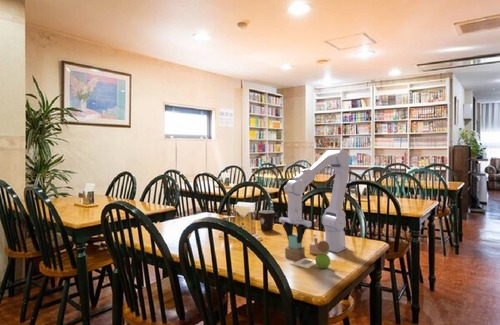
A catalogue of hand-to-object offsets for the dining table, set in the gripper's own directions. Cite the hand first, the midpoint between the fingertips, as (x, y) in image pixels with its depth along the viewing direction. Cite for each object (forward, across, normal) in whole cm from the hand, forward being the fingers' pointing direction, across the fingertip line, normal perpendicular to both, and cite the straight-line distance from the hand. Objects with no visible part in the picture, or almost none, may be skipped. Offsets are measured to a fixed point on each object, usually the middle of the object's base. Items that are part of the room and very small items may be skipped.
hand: (294, 241), depth 141 cm
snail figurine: (+6, +15, -5) cm, 17 cm away
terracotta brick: (+6, +4, +10) cm, 12 cm away
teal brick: (+2, 0, 0) cm, 3 cm away
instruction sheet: (+6, +8, -4) cm, 11 cm away
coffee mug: (+6, -36, +29) cm, 47 cm away
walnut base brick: (+6, 0, 0) cm, 6 cm away
